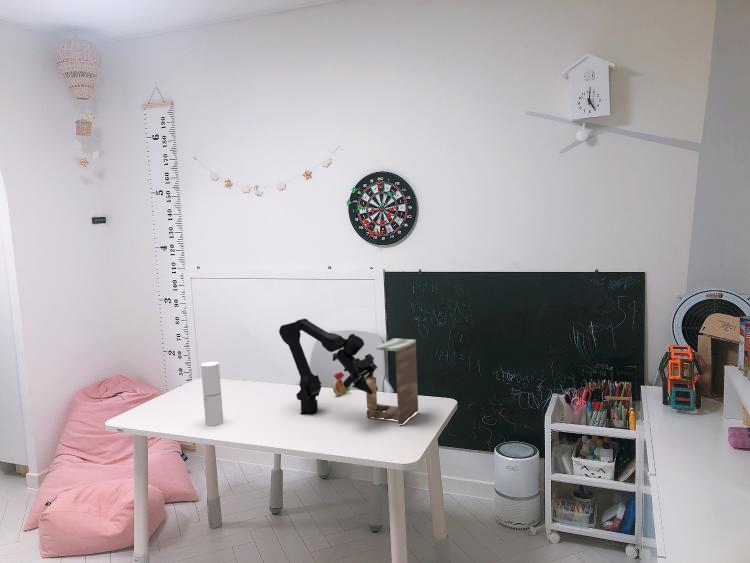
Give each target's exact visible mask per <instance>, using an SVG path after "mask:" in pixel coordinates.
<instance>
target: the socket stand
mask: <svg viewBox="0 0 750 563" xmlns="http://www.w3.org/2000/svg"><path fill="white" fill-rule="evenodd" d="M375 350H376V351H377V350H378V351H379V350H380V351H388V352H389V351H391V352H395V369H396V370H395V371H396V376H395V377H396V393H397V394H396V397H397V406H395V405H390V404H389V405H387V404H380V403H377V408H376V409H366V418H367V417H374V418H384V419H394V420H398V422H397V423H398V424H403V423H404V422H405V421H406V420H407V419H408V418H409V417H411V416H412V415H413V414H414V413H415V412H417V411H418V412H419V397H418V396H419V394H418V393H419V391H418V390H419V389H418V370H417V369H418V368H417V367H418V366H417V365H418V364H417V363H418V362H417V339H410V338H409V339H408V338H396V337H394V338H393V337H392V338H391V339H389V340H387V341H385V342H383V343H381V344H379V345H377V346H375ZM383 411H385V412H383Z"/></svg>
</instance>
